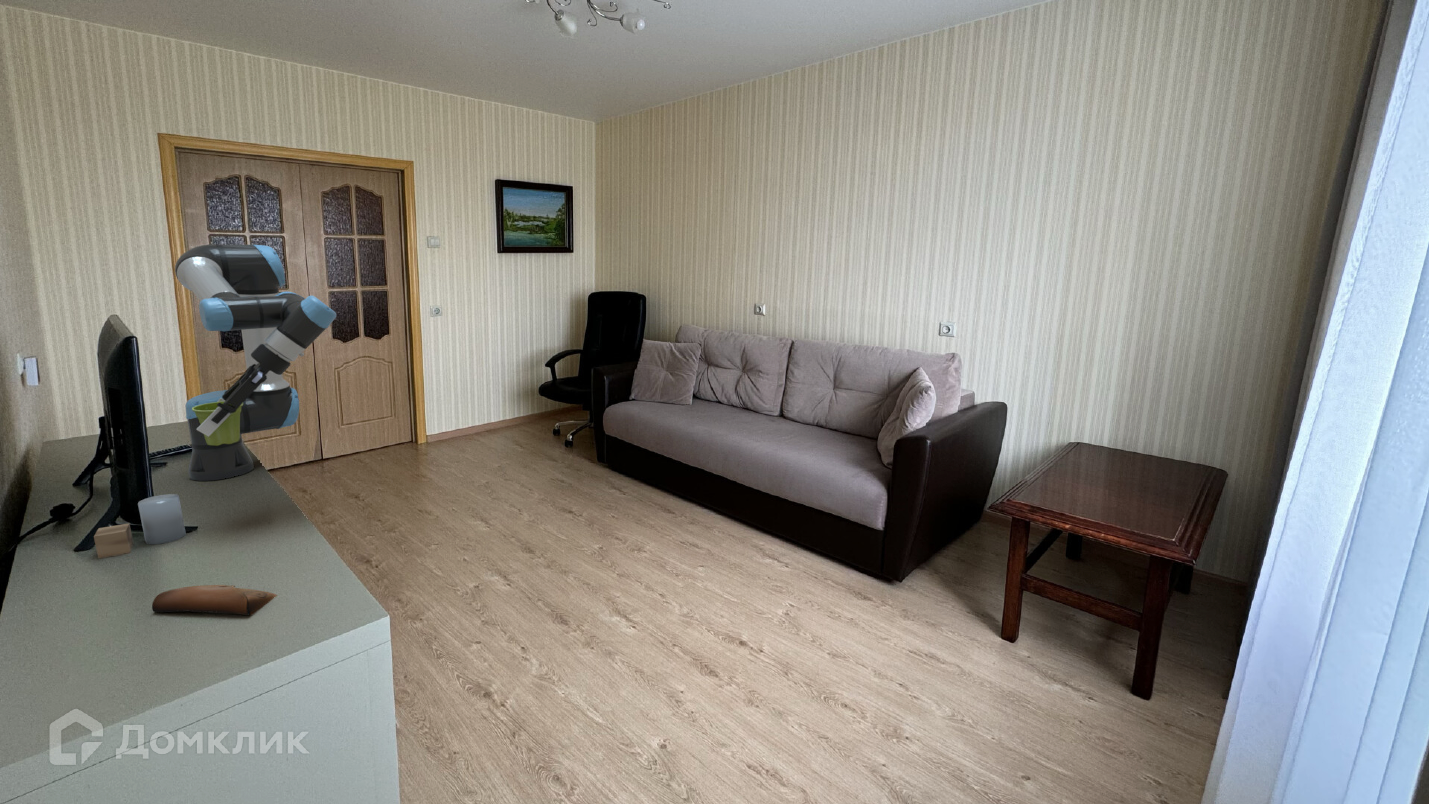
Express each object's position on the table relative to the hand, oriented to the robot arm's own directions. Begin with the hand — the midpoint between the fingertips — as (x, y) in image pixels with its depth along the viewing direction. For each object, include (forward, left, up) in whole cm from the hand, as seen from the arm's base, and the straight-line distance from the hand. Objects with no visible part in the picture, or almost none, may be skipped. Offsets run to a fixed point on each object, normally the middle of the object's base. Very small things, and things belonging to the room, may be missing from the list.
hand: (203, 427), depth 149 cm
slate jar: (+1, -10, -24) cm, 26 cm away
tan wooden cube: (+4, -18, -24) cm, 30 cm away
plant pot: (0, +3, -4) cm, 5 cm away
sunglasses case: (+43, +1, -24) cm, 50 cm away
